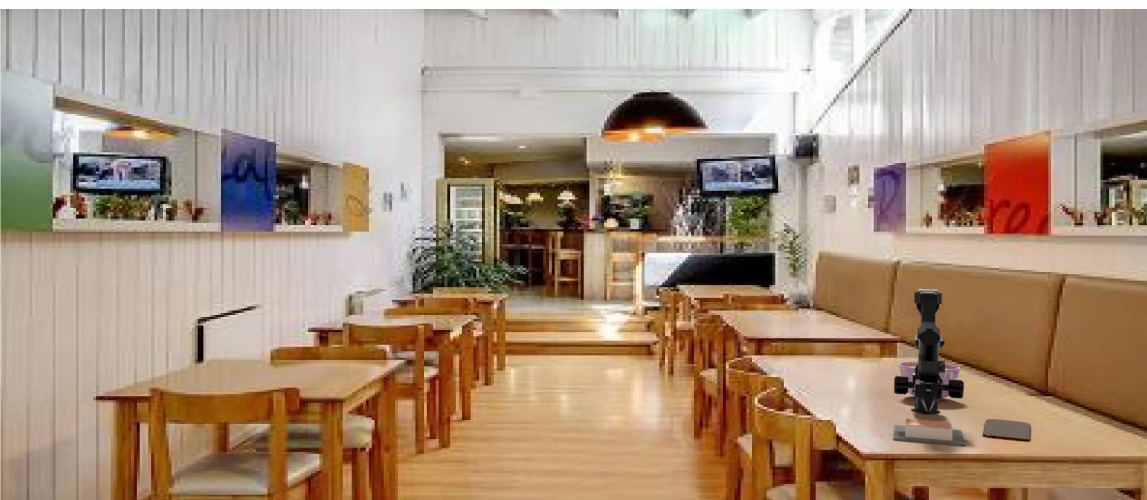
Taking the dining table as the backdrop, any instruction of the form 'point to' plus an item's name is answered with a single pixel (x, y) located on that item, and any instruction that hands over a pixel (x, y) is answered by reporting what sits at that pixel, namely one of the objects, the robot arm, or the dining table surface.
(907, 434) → the cream and orange slab
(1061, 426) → the dining table surface
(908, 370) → the lavender translucent bowl
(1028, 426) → the smartphone
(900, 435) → the charcoal mat
